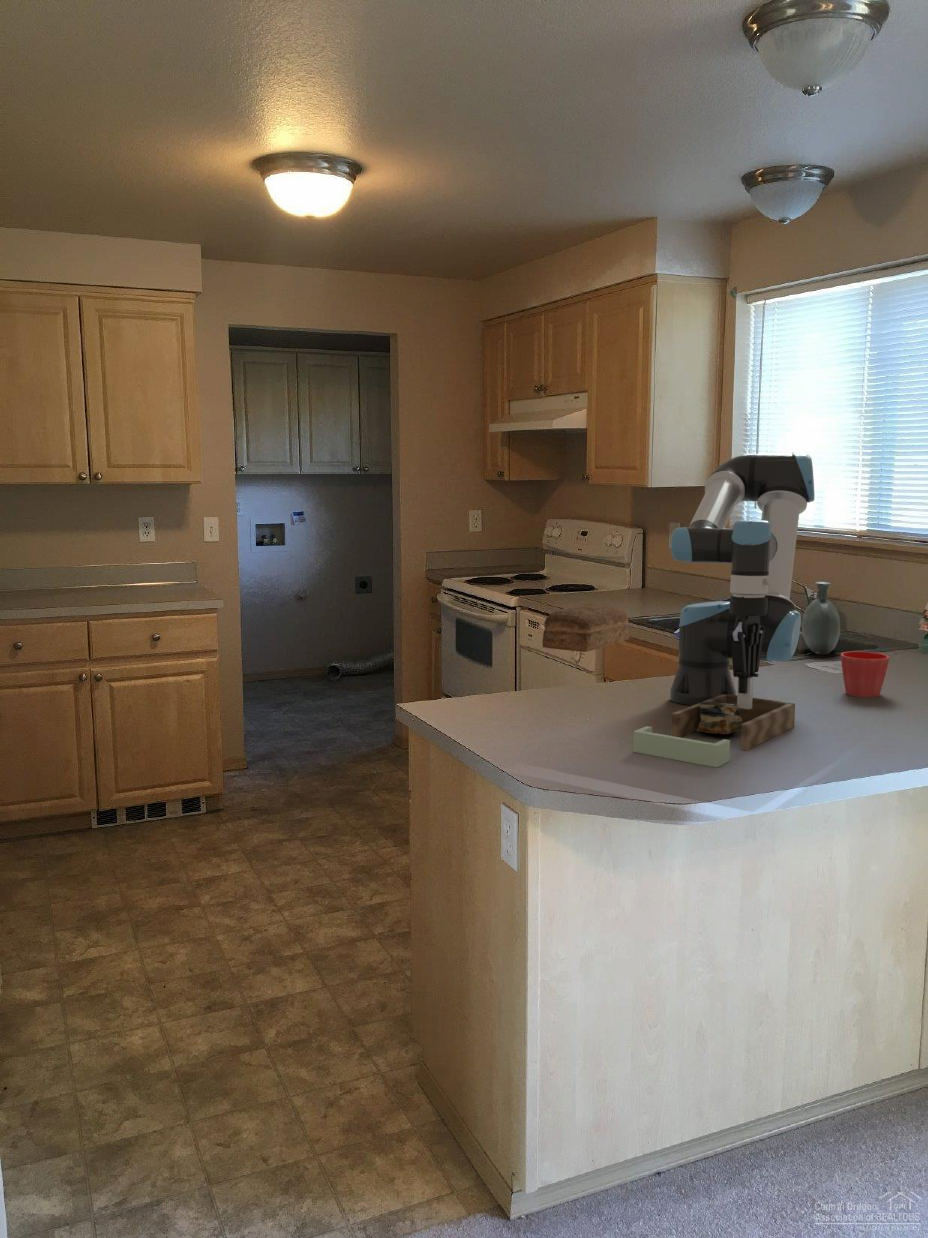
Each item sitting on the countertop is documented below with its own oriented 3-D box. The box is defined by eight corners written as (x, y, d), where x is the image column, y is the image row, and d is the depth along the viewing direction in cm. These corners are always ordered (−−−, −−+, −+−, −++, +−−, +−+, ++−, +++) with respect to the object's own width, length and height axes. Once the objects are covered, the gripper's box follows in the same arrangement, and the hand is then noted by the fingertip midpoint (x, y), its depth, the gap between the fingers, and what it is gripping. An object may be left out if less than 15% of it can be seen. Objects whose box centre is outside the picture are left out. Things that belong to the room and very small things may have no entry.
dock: (717, 767, 181) (717, 745, 181) (632, 751, 192) (633, 731, 192) (729, 761, 185) (730, 740, 185) (646, 746, 196) (646, 726, 196)
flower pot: (891, 699, 238) (893, 659, 237) (842, 697, 241) (844, 657, 239) (882, 690, 249) (884, 652, 247) (835, 689, 251) (837, 650, 250)
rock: (696, 734, 203) (696, 706, 202) (701, 726, 211) (701, 699, 211) (740, 736, 200) (740, 708, 199) (744, 728, 209) (744, 701, 208)
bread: (632, 643, 323) (633, 603, 321) (585, 656, 299) (586, 612, 297) (586, 638, 333) (587, 599, 332) (537, 651, 309) (537, 608, 307)
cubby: (746, 750, 193) (747, 725, 192) (671, 737, 203) (672, 713, 202) (794, 726, 212) (795, 703, 211) (723, 716, 222) (724, 693, 221)
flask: (846, 653, 304) (849, 580, 301) (833, 661, 289) (836, 585, 286) (806, 649, 310) (810, 578, 307) (792, 657, 296) (795, 583, 293)
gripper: (753, 599, 200) (748, 715, 203) (778, 594, 210) (774, 705, 213) (718, 596, 205) (714, 710, 208) (744, 592, 215) (740, 700, 218)
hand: (744, 707), depth 210 cm, fingers closed
